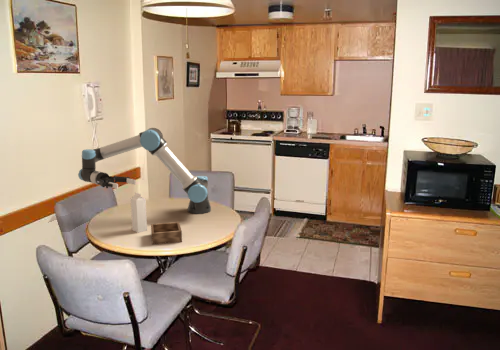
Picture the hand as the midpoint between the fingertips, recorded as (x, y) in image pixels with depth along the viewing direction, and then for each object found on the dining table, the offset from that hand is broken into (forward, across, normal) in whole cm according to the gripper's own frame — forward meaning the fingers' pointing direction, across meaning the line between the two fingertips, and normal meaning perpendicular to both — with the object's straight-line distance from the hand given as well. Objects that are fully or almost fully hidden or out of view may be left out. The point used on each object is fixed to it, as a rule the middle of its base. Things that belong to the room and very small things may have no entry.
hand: (126, 184), depth 240 cm
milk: (+10, 0, -25) cm, 27 cm away
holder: (+31, +2, -24) cm, 40 cm away
